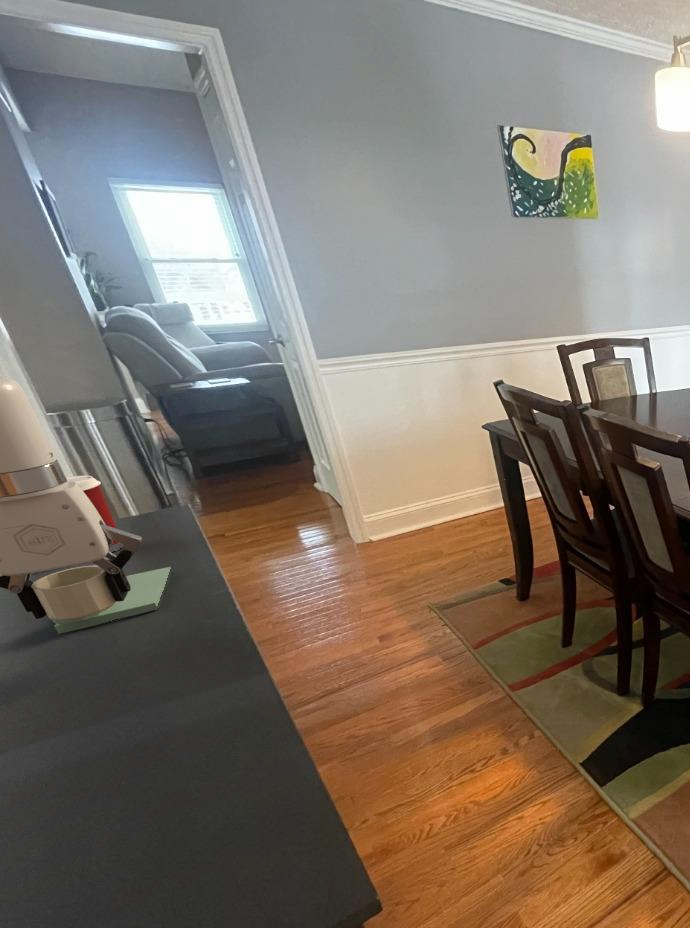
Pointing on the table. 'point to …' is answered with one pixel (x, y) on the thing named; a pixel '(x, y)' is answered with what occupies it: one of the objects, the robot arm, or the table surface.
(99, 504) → the paper cup
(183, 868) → the table surface
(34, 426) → the robot arm
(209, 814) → the table surface
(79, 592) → the bowl
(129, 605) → the scale
